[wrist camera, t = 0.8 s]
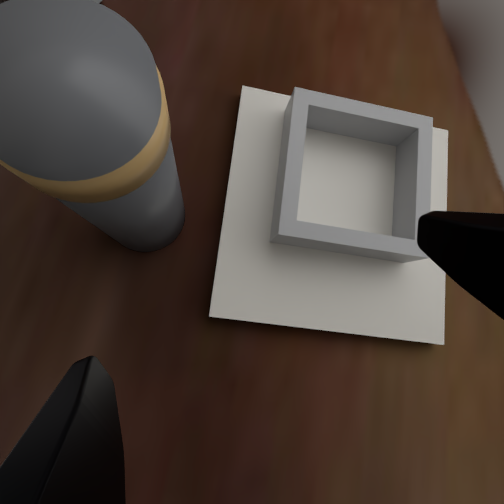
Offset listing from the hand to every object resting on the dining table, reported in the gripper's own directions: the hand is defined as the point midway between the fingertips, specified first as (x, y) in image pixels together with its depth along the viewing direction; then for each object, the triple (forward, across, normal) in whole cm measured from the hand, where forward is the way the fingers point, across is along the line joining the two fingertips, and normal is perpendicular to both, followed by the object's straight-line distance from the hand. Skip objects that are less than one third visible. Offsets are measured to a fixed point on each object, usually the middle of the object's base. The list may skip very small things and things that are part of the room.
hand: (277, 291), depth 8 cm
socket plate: (+12, -9, +6) cm, 16 cm away
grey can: (+15, +3, +2) cm, 15 cm away
